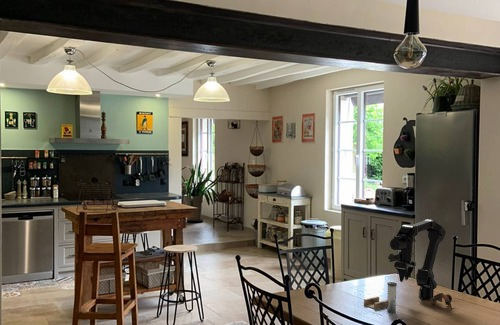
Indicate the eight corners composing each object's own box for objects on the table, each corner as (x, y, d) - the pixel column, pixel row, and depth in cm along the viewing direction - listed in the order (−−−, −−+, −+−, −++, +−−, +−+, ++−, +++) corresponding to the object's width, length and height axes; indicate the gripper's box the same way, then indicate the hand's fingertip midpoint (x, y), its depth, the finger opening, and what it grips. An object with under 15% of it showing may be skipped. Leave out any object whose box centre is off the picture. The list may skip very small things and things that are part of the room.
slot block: (377, 302, 257) (377, 296, 257) (389, 306, 250) (389, 300, 250) (363, 305, 251) (363, 299, 251) (375, 309, 244) (376, 303, 244)
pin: (394, 310, 244) (395, 282, 243) (397, 313, 239) (397, 284, 239) (385, 310, 244) (386, 281, 243) (388, 313, 239) (388, 284, 239)
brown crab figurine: (446, 313, 243) (438, 297, 244) (432, 316, 250) (424, 301, 252) (460, 303, 249) (451, 287, 251) (446, 306, 257) (438, 291, 259)
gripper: (396, 246, 266) (393, 276, 265) (385, 248, 250) (382, 279, 250) (417, 250, 260) (414, 280, 259) (407, 252, 244) (404, 284, 244)
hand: (403, 280), depth 253 cm, fingers open, 9 cm apart
